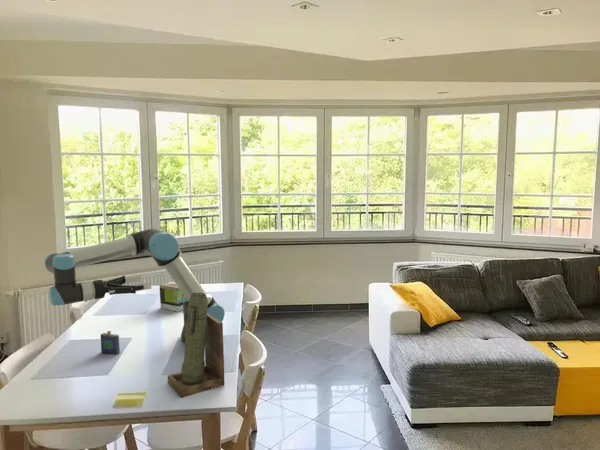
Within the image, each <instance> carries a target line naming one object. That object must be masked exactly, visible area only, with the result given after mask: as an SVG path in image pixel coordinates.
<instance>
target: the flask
mask: <svg viewBox="0 0 600 450" xmlns="http://www.w3.org/2000/svg"><path fill="white" fill-rule="evenodd" d="M100 347H101V348H100V349H101V351H100V353H101V354H103V355H119V354H120V353H121V351H120V348H121V347H120V334H116V333H115V334H112V331H111V330H108V331H106V332H103V333H101V334H100Z"/></svg>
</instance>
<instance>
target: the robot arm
mask: <svg viewBox="0 0 600 450" xmlns="http://www.w3.org/2000/svg"><path fill="white" fill-rule="evenodd" d="M140 254H141V255H142V254H143V255H149V256H150V257H152V260H153V261H154V262H155V263H156V264H157V266H158V267H160V268H164V269H165V271H166V273H168V275H169V276H170V278H171V279H172V282H175V283H176V285H177V286H178V287H179V289H180V290H181V292H182V293H183V294H184V297H183V310H182V312H183V313H182V314H183V327H182V330H181V334H180V340H181V342H183V343H184V344H185V340H186V339H185V324H186V321H187V317H188V304H189V299H190V296H191V294H193V293H204V294H205V295H206V296H207V300H208V307H207V313H208V314H210V315H212V316H213V317H215V318H216V319H218V320H219V321H221V322H222V323H223V320H224V319H225V315H226V312H225V309H224V307H223V306H222V305H221V304H219V303H218V302H216V300H215V299H214V296H212V294H211V293H206V291H205V289H204V288H203V287H202V285H201V284H200V283H199V281H198V280H197V278H196V276H195V274H194V273H193V272H192V271H191V269H190V268H189V266H188V265H187V263H186V262H185V261H184V258H182V256H181V254H182V251H181V249H180V246H179V241H178V239H177V238H176V237H175V236H174V235H173V234H172V233H170V232H167V231H163V230H159V229H156V228H148V229H145V230H140V231H137V232H133V233H129V234H127V236H126V237H122V238H119V239H114V240H110V241H107V242H103V243H102V242H101V243H98V244H94V245H89V246H86V247H81V248H78V249H73V250H69V251H65V252H62V253H61V252H60V253H54V252H53V253H50V254H48V255H47V256H46V257H45V259H44V266H45V269H46V271H48V272H49V273H50V272H51V274H53V279H54V285H53V286H50V287H49V289H48V291H49V293H48V295H49V300H50V303H51V305H52V306H54V307H55V306H63V305H64V306H65V305H70V304H77V303H79V302H85V303H87V302H88V301H92V300H99V299H103V298H105V296H106V294H109V295H110V296H111V295H112V296H113V295H125V294H126V295H127V294H134V295H135V294H137V292H140V291H145V290H151V289H152V282H151V281H148V282H142V275H135V276H134V275H133V276H127V277H125V275H122V276H119V277H116V278H113V279H109V280H102V279H97V280H96V279H95V280H93V281H91V280H88V281H83V282H77V277H76V269H79V268H82V267H86V266H89V265H93V264H96V263H100V262H105V261H108V260H112V259H117V258H120V257H123V256H128V255H133V256H136V255H140ZM134 283H135V284H134ZM125 284H126V285H125ZM130 284H133V285H130Z"/></svg>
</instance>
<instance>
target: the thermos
mask: <svg viewBox="0 0 600 450" xmlns="http://www.w3.org/2000/svg"><path fill="white" fill-rule="evenodd" d="M207 307H208V300H207V296H206V295H205V294H204V293H193V294H191V296H190V299H189V304H188V317H187V321H186V324H185V339H186V340H185V343H184V353H183V354H184V355H183V362H182V365H181V372H182V381H183V382H184V383H189V384H196V383H200V382H202V381H203V375H204V369H205V366H206V361H205V339H206V337H207V327H208V323H207V317H206V314H207Z"/></svg>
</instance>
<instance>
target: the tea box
mask: <svg viewBox="0 0 600 450" xmlns="http://www.w3.org/2000/svg"><path fill="white" fill-rule="evenodd" d="M183 297H184V294H183V293H182V292H181V290H180V289H179V287H178V286H177V285H176V283H175V282H174V281H169V282H165V283H162V284H159V303H160V306H159V307H160V309H163V310H168V311H172V312H177V313H178V312H179V313H180V312H183Z"/></svg>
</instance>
